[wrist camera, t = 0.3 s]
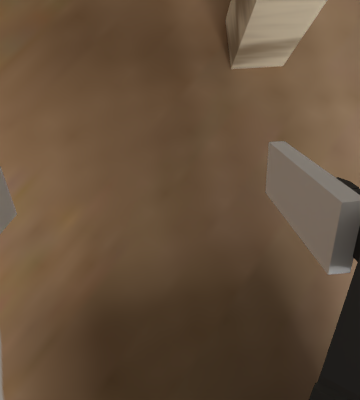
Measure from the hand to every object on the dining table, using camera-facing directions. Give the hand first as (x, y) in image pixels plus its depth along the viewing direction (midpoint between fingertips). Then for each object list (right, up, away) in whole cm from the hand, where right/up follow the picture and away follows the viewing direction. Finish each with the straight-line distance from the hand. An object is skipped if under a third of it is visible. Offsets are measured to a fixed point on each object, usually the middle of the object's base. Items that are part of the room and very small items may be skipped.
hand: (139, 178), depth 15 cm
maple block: (+11, +17, +20) cm, 28 cm away
